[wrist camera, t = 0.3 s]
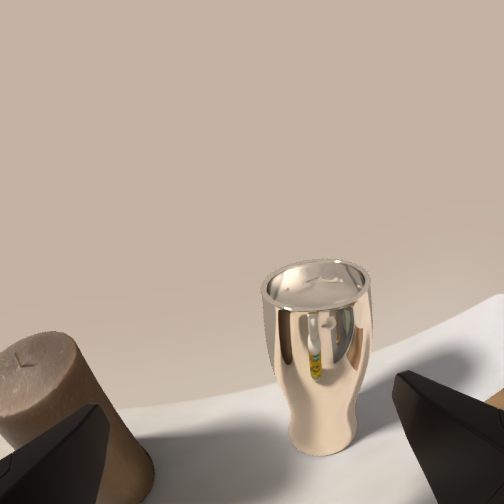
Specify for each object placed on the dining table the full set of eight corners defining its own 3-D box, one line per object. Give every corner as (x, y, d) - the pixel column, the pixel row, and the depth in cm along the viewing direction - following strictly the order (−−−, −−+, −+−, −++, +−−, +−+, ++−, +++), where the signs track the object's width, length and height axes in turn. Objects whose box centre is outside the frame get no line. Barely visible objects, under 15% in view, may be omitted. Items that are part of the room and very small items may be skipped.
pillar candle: (151, 433, 24) (83, 305, 19) (160, 515, 15) (46, 394, 10) (71, 442, 22) (-6, 327, 17) (64, 516, 13) (-56, 400, 8)
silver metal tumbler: (340, 471, 18) (351, 323, 13) (268, 443, 22) (232, 299, 17) (372, 411, 23) (386, 262, 18) (307, 393, 27) (293, 253, 22)
